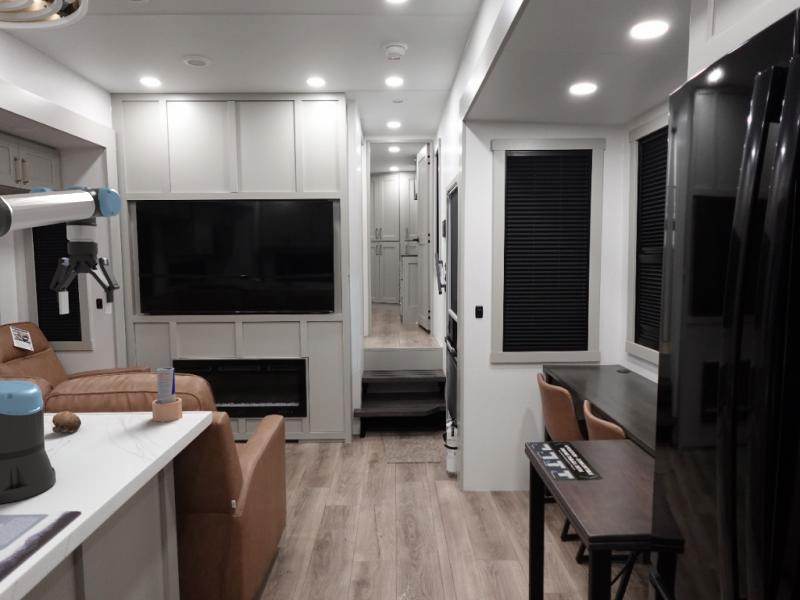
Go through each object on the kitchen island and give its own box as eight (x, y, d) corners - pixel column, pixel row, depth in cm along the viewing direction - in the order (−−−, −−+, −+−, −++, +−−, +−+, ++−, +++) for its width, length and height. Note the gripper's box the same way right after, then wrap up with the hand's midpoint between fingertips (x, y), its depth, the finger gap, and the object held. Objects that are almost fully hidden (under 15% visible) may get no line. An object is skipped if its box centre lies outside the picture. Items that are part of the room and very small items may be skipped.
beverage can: (179, 412, 169) (177, 366, 168) (170, 416, 164) (168, 369, 163) (164, 411, 169) (162, 366, 168) (155, 416, 164) (153, 369, 163)
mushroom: (39, 423, 150) (53, 405, 151) (63, 426, 158) (76, 409, 158) (53, 440, 147) (67, 421, 148) (76, 442, 154) (90, 424, 155)
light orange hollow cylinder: (173, 422, 162) (172, 404, 161) (147, 421, 163) (146, 404, 162) (187, 414, 170) (186, 397, 170) (162, 413, 171) (161, 397, 171)
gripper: (130, 241, 153) (133, 313, 154) (52, 242, 156) (56, 312, 157) (114, 240, 145) (117, 315, 147) (32, 240, 148) (36, 314, 150)
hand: (85, 314), depth 152 cm, fingers open, 13 cm apart
